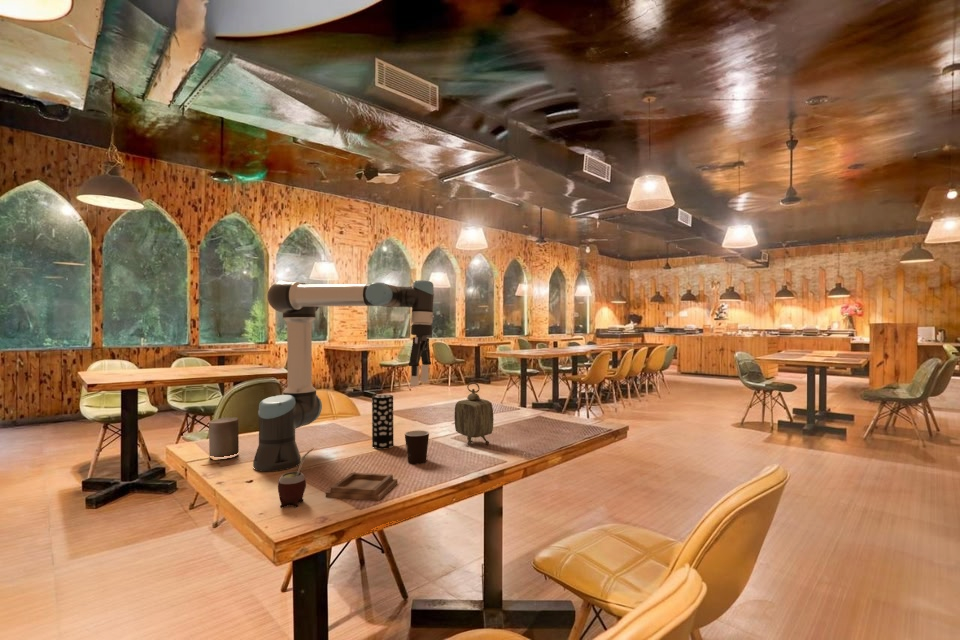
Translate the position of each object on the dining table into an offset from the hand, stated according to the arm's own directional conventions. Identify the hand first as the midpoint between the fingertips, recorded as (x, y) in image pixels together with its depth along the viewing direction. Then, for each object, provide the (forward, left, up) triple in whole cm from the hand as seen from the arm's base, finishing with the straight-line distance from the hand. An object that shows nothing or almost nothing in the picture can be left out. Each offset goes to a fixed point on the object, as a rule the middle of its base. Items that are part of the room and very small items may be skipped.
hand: (419, 384), depth 163 cm
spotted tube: (-21, +18, -28) cm, 39 cm away
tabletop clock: (+14, +27, -28) cm, 41 cm away
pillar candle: (-74, -5, -28) cm, 79 cm away
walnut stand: (-8, -29, -27) cm, 41 cm away
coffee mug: (-1, +2, -28) cm, 28 cm away
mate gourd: (-22, -42, -28) cm, 55 cm away
